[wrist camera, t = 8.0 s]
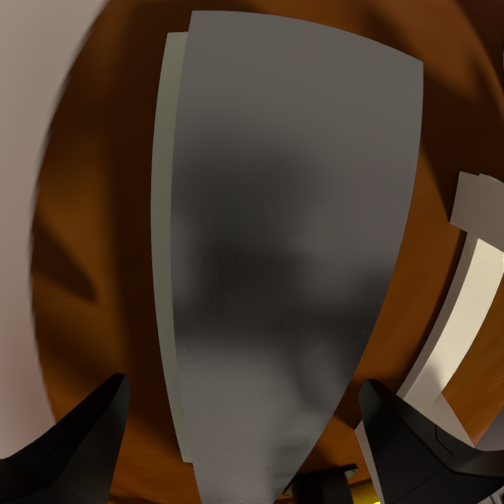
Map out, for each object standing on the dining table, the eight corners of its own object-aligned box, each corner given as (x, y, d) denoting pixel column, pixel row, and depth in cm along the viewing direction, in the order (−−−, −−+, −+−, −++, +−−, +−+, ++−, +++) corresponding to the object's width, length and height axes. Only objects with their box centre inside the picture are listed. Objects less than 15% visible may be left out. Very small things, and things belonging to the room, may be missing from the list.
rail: (264, 457, 14) (270, 506, 10) (204, 455, 14) (202, 506, 10) (344, 91, 7) (422, 62, 3) (211, 71, 6) (192, 10, 3)
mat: (280, 455, 16) (282, 463, 15) (184, 453, 15) (183, 461, 14) (375, 70, 7) (386, 66, 6) (172, 41, 7) (168, 33, 6)
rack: (425, 413, 16) (461, 482, 8) (352, 432, 15) (383, 522, 8) (523, 196, 9) (618, 245, 2) (460, 164, 9) (614, 222, 1)
